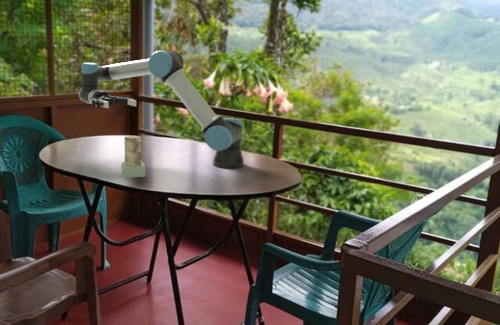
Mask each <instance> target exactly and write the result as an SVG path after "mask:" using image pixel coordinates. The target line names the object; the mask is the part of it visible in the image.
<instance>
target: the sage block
mask: <svg viewBox="0 0 500 325" xmlns="http://www.w3.org/2000/svg"><path fill="white" fill-rule="evenodd" d="M146 167H147V166H146V164H144V162H143V161H142V160H141V164H140V165H134V166H131V165H127V164H125V161H121V174H122V176H123V178H124V179H129V178H130V179H131V178H146V172H147V171H146V170H147V169H146Z"/></svg>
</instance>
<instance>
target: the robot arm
mask: <svg viewBox="0 0 500 325" xmlns="http://www.w3.org/2000/svg"><path fill="white" fill-rule="evenodd" d="M184 65H185V61H184V58H183V56H182V55H181V53H179V52H178V51H176V50H164V49H163V50H162V49H160V50H157V51H154V52H153V53H152V54H151V55H150V56H149V58H147V59H145V58H144V59H139V60H138V59H137V60H132V61H127V62H120V63H115V64H109V65H102V66H101V65H98V63H96V62H83V63H81V70H80V72H81V88H79V89H80V90H79V91H78V98H79V99H80V100H81V101H82V102H84V103H85V104H89V105H92V107H96V108H98V109H99V108H105V109H110V107H109V105H117V104H123V105H127V106H128V105H129V106H131V107H137V99H134V98H133V97H131V96H129V97H124V96H112V95H111V94H109V93H108V92H107V91H105V90H102V89H101V90H100V89H99V83H100V82H101V83H102V82H109V81H114V80H122V79H129V78H134V77H136V78H137V77H141V76H142V77H143V76H149V75H152V76H154V77H156V78H159V80H161V82H162V83H163V85H166V86H169V87H170V88H171V89H172V90H173V92H174V93H175V94H176V95H177V97H178V98H179V99H180V101H181V102H182V103H183V106H185V107H186V109H187V110H188V111H189V112H190V114H191V115H192V116H193V118H194V119H195V120H196V121H197V123H198V124H199V125H200V126H201V130H200V131H201V133H202V134H203V136H204V140H205V143H206V145H207V146H208V147H209V148H210V149H211V150H213V151H215V154H214V157H213V160H212V161H213V162H212V165H214V167H216V168H217V167H218V168H222V169H238V168H242V167H244V165H245V160H244V156H243V152H242V136H243V120H241V119H239V118H228V117H227V118H226V117H223V116H222V115H219V114H216V113H215V112H214V110H213V109H212V108H211V106H210V105H209V104H208V102H207V101H206V100H205V99H204V98H203V96H202V94H200V92H199V91H198V90H197V88H196V87H195V86H194V84H193V83H192V82H191V81H190V79H189V78H188V77H187V76H186V74H185V67H184Z"/></svg>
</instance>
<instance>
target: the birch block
mask: <svg viewBox="0 0 500 325" xmlns="http://www.w3.org/2000/svg"><path fill="white" fill-rule="evenodd" d="M141 161H142V137H141V136H137V135H129V136H124V162H125V164H127V165H131V166H134V165H140V164H141Z"/></svg>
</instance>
